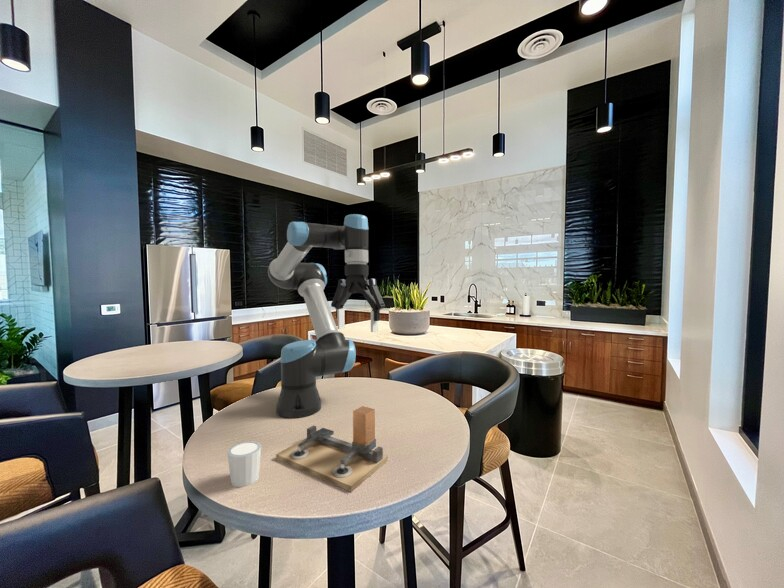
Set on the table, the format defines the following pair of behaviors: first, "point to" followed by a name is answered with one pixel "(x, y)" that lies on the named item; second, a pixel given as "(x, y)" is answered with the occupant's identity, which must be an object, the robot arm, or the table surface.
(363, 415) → the block
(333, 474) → the bolt plate
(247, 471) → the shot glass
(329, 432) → the fixed leg
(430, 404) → the table surface
